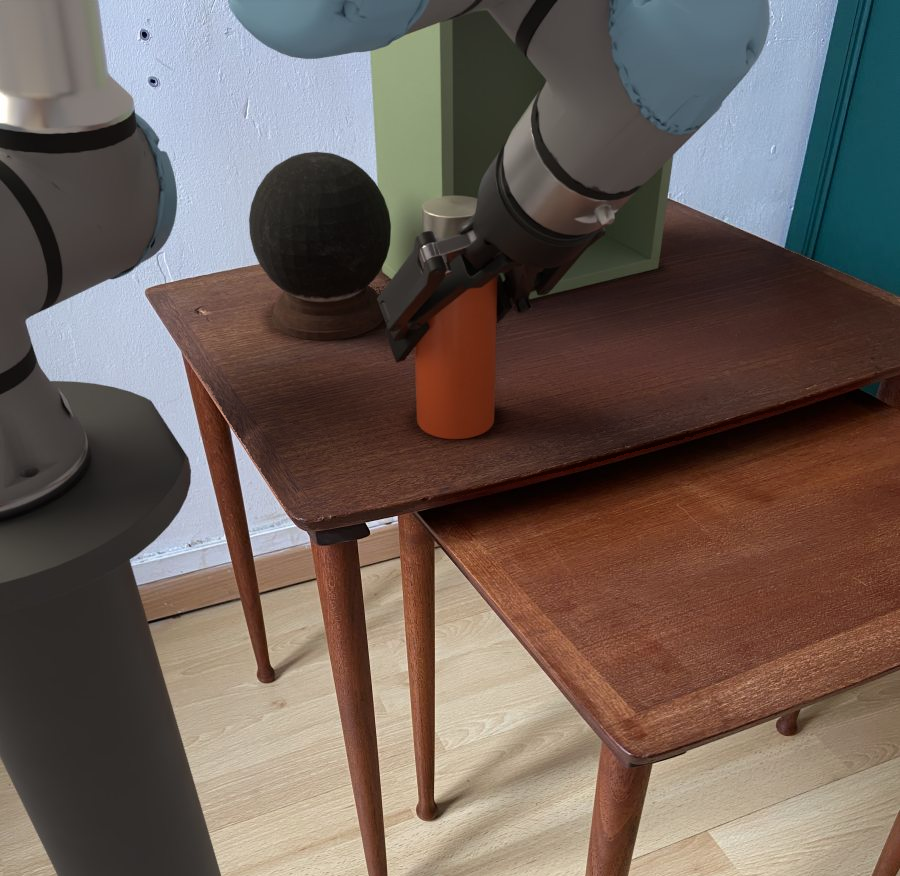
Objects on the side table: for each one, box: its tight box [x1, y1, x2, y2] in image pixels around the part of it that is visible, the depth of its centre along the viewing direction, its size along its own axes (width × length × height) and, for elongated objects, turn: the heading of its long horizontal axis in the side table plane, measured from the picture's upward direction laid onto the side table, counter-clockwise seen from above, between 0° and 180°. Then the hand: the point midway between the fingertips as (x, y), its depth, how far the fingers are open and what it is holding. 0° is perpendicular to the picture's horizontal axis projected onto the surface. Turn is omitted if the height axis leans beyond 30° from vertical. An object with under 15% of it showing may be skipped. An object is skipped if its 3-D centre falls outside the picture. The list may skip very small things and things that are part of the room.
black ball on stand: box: [248, 151, 391, 341], centre depth 90 cm, size 13×13×15 cm
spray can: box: [413, 196, 498, 440], centre depth 73 cm, size 6×6×17 cm
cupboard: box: [369, 8, 674, 300], centre depth 94 cm, size 14×26×27 cm, turn 119°
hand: (433, 335), depth 77 cm, fingers closed on spray can, 6 cm apart
